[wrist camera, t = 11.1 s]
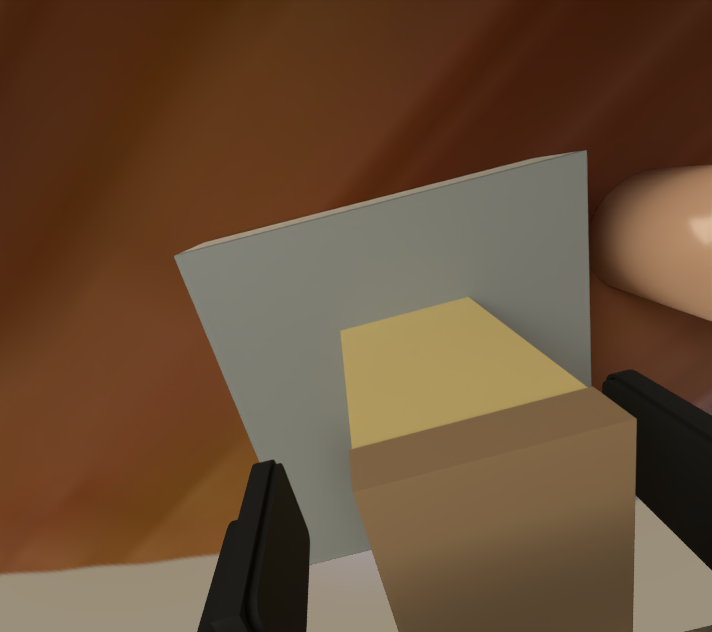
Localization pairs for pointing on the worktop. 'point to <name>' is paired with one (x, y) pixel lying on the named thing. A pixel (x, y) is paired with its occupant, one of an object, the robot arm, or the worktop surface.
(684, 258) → the beige egg shape
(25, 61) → the worktop surface
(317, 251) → the podium
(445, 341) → the carton
